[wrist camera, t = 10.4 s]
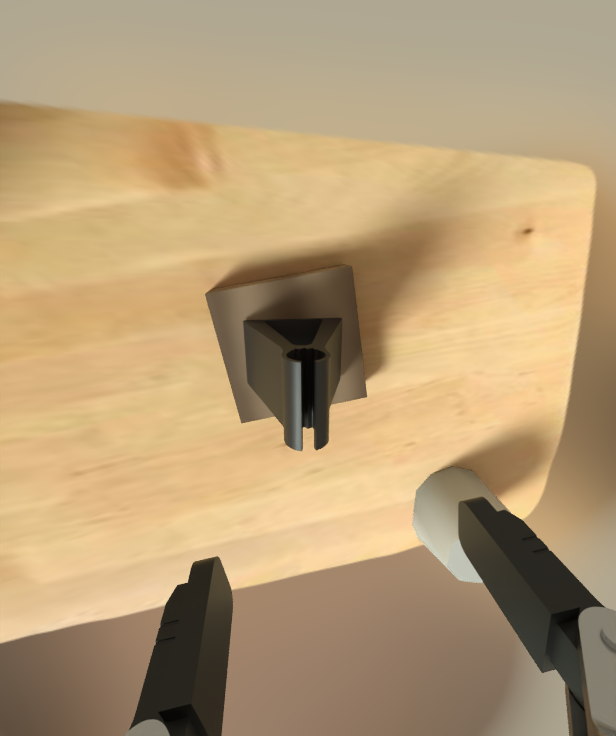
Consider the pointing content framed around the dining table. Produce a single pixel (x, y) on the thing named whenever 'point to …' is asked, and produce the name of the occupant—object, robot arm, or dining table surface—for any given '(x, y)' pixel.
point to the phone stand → (295, 372)
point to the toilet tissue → (448, 516)
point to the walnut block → (287, 301)
